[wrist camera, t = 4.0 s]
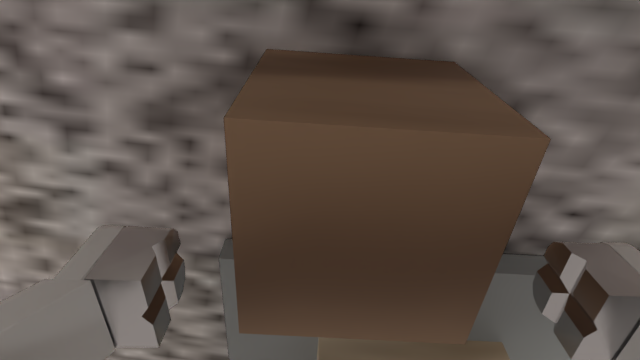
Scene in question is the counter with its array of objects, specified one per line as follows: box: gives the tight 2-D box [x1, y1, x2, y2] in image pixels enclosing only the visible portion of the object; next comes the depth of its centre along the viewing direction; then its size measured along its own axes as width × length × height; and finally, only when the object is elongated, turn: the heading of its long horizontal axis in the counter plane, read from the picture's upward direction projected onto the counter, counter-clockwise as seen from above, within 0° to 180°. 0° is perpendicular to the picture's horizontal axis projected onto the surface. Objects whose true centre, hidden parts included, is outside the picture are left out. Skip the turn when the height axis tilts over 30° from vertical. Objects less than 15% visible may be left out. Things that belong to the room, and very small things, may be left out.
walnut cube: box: [224, 49, 551, 345], centre depth 9 cm, size 5×5×5 cm
